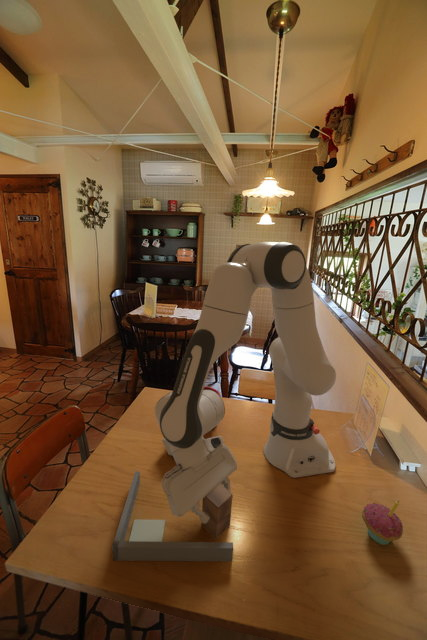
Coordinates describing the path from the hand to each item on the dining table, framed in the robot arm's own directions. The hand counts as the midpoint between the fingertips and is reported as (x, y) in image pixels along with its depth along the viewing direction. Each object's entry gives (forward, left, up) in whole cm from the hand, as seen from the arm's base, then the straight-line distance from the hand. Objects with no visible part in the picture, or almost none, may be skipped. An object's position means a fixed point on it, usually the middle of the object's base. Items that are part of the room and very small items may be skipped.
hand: (218, 510), depth 68 cm
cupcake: (-40, +2, -6) cm, 40 cm away
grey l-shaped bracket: (+9, -2, -5) cm, 11 cm away
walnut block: (0, 0, -5) cm, 5 cm away
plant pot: (+4, -40, -6) cm, 41 cm away
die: (+12, -24, -6) cm, 28 cm away
